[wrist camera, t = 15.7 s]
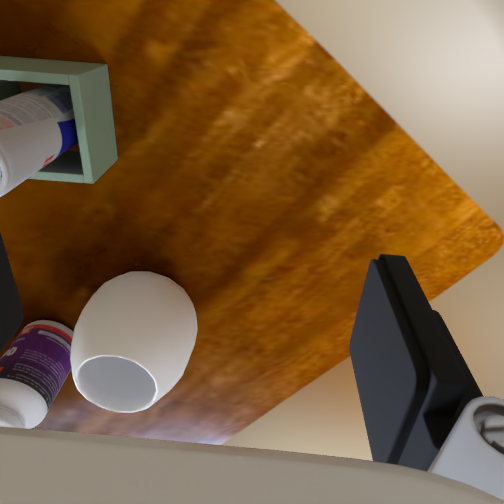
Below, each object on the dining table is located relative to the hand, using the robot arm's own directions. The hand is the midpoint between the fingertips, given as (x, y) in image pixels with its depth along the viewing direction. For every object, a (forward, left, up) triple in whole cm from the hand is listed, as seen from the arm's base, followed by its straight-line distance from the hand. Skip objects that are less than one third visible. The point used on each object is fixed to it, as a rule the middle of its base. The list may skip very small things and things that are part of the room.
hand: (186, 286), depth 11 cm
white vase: (+27, -11, -32) cm, 44 cm away
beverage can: (+4, -18, -32) cm, 36 cm away
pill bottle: (+35, -25, -32) cm, 54 cm away
